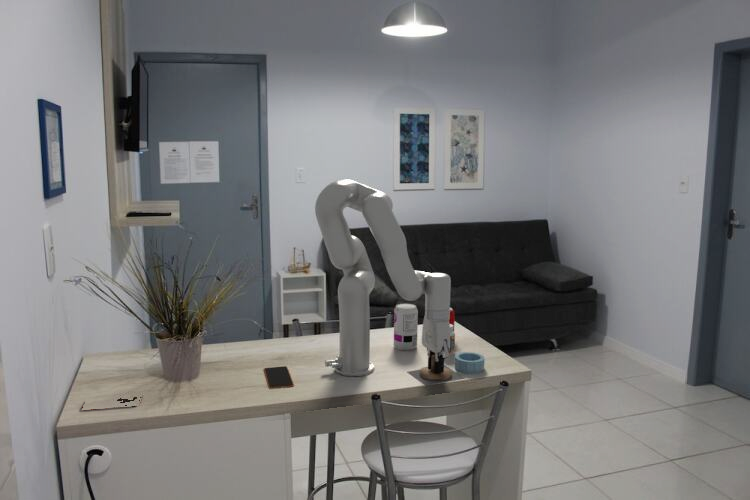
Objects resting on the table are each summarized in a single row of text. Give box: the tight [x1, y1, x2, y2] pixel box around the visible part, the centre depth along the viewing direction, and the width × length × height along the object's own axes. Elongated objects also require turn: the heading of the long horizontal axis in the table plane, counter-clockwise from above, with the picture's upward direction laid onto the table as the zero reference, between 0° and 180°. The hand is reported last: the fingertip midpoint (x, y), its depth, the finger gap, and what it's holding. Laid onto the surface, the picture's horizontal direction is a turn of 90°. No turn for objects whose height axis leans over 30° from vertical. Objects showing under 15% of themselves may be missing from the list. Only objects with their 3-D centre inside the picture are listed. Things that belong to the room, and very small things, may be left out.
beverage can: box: [449, 307, 456, 332], centre depth 228 cm, size 6×6×12 cm
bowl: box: [454, 351, 485, 374], centre depth 200 cm, size 9×9×4 cm
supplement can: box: [393, 303, 419, 351], centre depth 219 cm, size 8×8×15 cm
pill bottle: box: [439, 324, 456, 356], centre depth 214 cm, size 6×6×10 cm
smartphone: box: [263, 365, 295, 389], centre depth 191 cm, size 8×17×1 cm, turn 15°
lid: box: [419, 355, 452, 381], centre depth 193 cm, size 10×10×6 cm
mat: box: [406, 365, 466, 387], centre depth 194 cm, size 14×12×1 cm
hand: (435, 370), depth 194 cm, fingers closed on lid, 3 cm apart
